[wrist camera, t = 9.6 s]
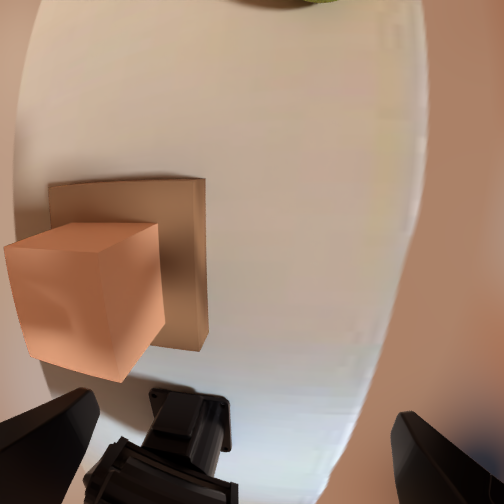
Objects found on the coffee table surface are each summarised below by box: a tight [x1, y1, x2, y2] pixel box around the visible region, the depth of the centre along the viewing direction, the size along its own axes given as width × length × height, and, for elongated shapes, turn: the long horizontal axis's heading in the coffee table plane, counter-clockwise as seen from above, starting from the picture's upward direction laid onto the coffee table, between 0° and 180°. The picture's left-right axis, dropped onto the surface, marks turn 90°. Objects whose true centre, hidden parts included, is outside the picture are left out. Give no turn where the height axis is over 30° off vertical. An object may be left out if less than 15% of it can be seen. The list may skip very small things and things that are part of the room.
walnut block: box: [49, 179, 209, 352], centre depth 19 cm, size 10×10×3 cm
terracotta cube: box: [4, 223, 165, 383], centre depth 15 cm, size 6×6×6 cm
